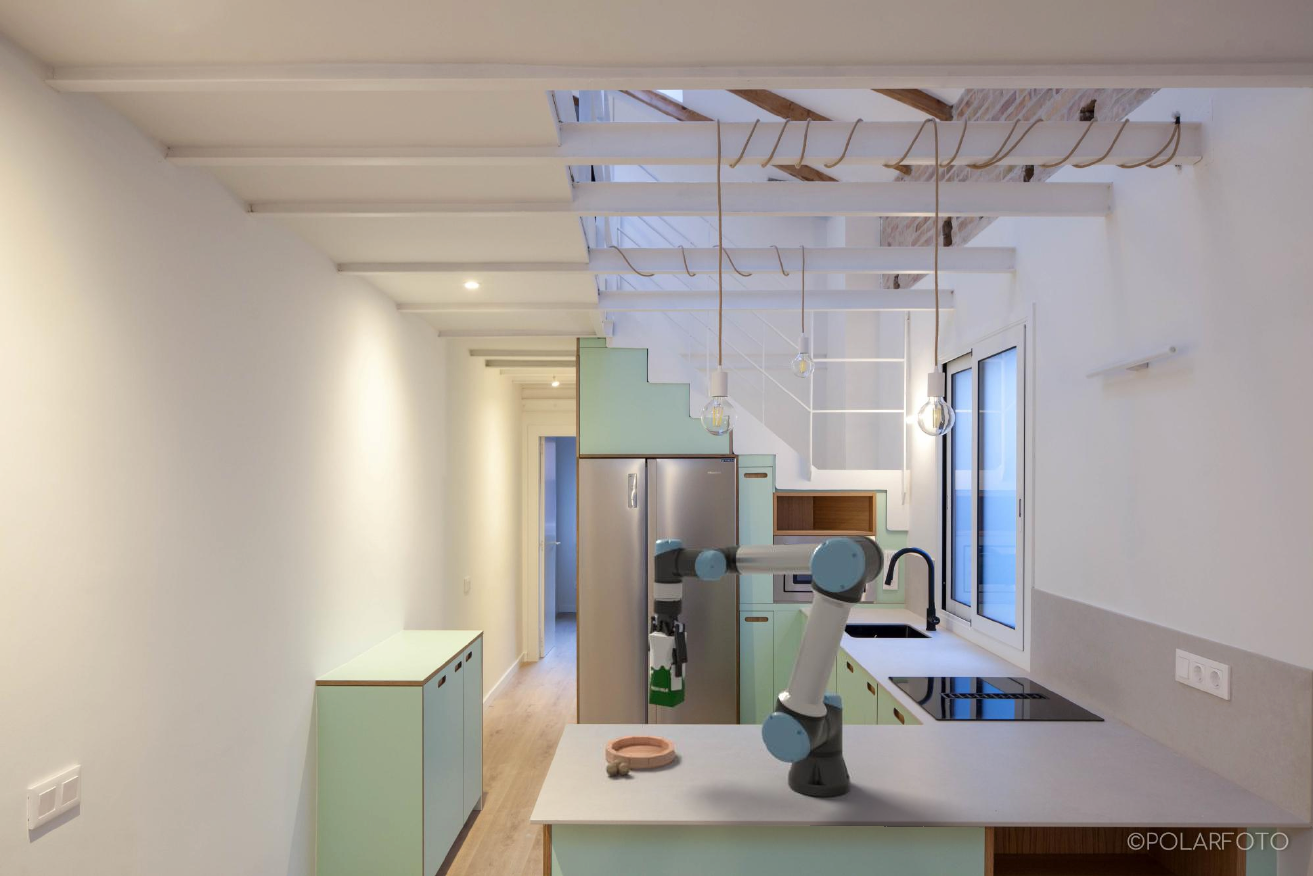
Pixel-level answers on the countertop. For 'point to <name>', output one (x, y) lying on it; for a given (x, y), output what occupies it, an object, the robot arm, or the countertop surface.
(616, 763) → the bead pile
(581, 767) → the countertop surface
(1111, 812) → the countertop surface
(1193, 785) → the countertop surface
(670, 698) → the soya milk
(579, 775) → the countertop surface
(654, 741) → the tray
